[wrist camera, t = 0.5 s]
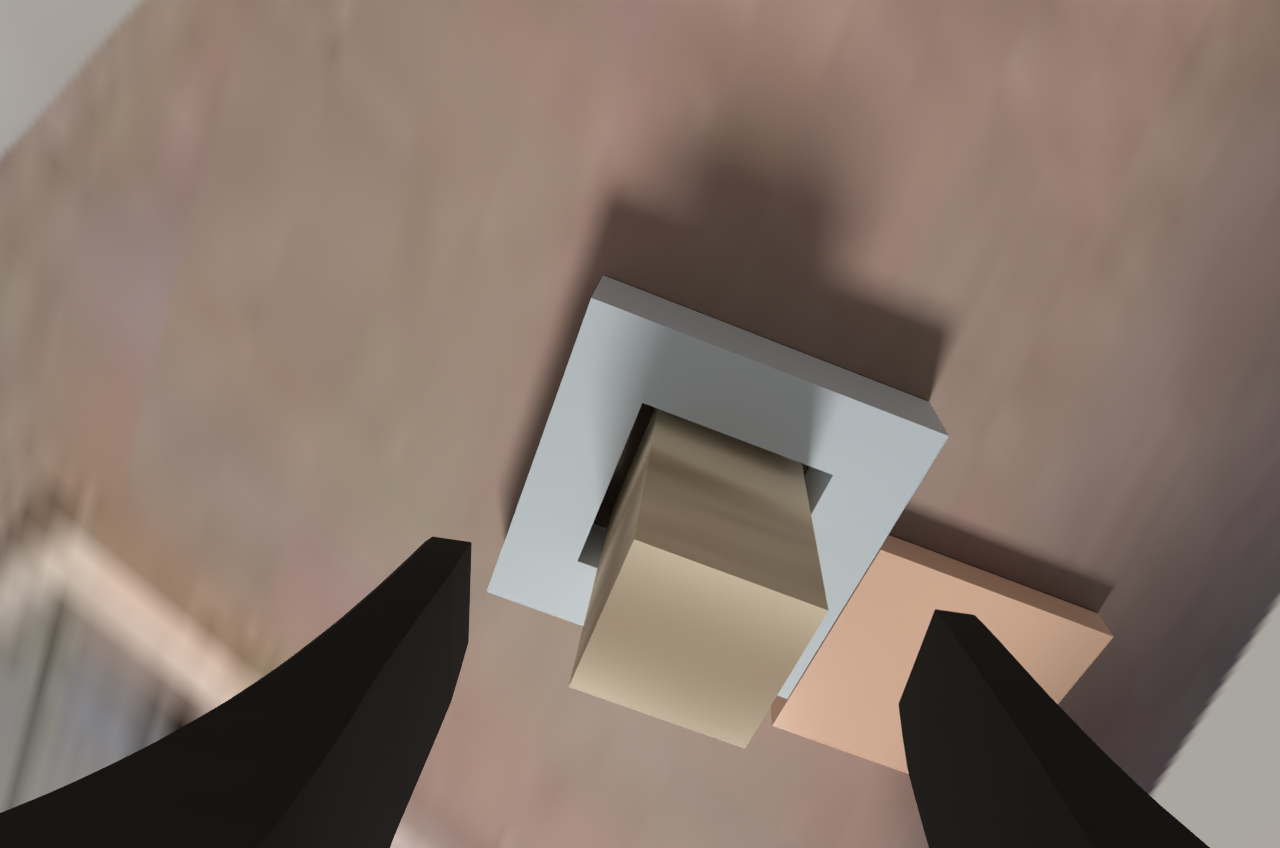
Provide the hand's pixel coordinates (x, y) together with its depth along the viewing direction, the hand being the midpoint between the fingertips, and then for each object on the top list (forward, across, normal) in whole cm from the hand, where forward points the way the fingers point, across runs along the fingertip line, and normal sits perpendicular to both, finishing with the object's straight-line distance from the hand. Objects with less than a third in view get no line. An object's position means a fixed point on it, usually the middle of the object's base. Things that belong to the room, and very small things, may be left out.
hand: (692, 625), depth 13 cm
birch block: (+10, -1, +3) cm, 10 cm away
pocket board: (+10, -1, +3) cm, 10 cm away
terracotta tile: (+9, -8, +8) cm, 15 cm away
